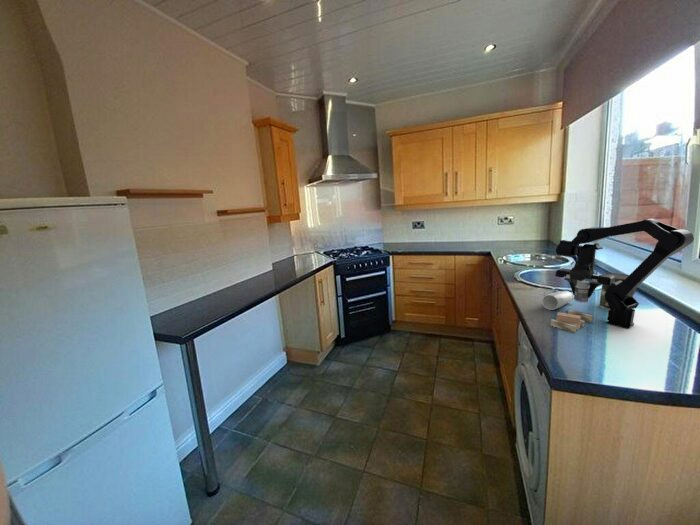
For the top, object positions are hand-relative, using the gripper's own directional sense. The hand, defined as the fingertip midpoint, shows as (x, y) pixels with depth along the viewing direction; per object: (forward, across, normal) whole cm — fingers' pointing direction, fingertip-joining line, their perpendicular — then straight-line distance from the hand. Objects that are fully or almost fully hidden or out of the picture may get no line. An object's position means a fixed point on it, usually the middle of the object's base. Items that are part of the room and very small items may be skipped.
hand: (581, 296), depth 126 cm
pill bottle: (+2, 0, 0) cm, 2 cm away
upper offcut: (+5, +3, -19) cm, 20 cm away
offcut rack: (+7, +3, -15) cm, 17 cm away
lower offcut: (+7, +3, -19) cm, 21 cm away
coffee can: (+7, +7, +16) cm, 19 cm away
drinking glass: (+4, -8, +9) cm, 13 cm away
